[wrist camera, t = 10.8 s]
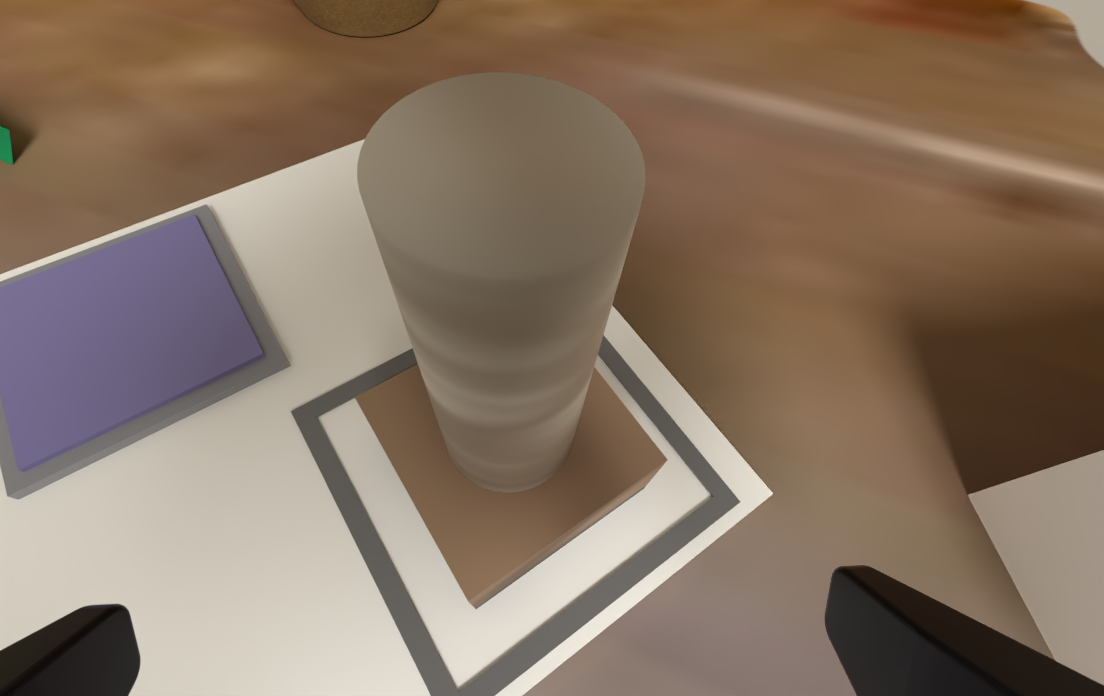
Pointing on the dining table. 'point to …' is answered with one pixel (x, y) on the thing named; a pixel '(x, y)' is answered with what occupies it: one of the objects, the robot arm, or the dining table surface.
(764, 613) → the dining table surface
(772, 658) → the dining table surface
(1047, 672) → the robot arm
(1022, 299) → the dining table surface
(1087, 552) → the white box
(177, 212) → the stamping board
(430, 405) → the stamp
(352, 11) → the plant pot
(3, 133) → the candy
